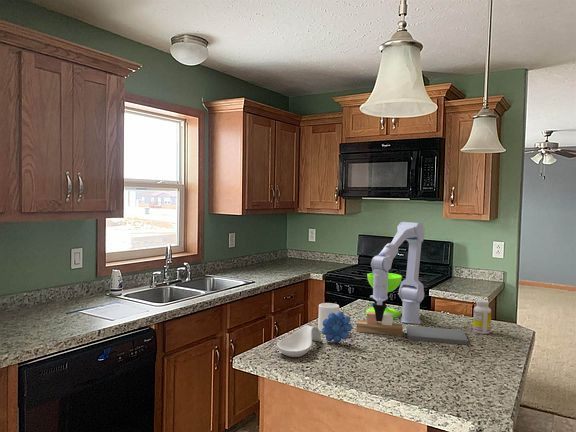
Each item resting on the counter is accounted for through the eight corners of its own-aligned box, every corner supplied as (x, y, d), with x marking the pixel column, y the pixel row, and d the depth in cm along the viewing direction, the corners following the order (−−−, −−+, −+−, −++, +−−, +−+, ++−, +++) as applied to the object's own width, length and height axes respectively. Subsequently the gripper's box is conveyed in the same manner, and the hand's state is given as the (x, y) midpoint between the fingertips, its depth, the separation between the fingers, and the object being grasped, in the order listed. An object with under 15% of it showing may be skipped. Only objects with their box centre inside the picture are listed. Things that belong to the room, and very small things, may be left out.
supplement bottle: (487, 330, 190) (488, 299, 190) (492, 334, 184) (494, 303, 183) (470, 329, 191) (471, 299, 190) (475, 334, 184) (476, 302, 184)
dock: (406, 329, 189) (406, 325, 189) (462, 333, 184) (462, 330, 184) (407, 339, 176) (407, 335, 175) (468, 344, 171) (468, 340, 171)
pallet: (357, 329, 189) (357, 319, 189) (401, 333, 185) (402, 323, 185) (356, 332, 184) (356, 323, 184) (402, 336, 180) (402, 326, 180)
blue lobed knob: (354, 341, 172) (355, 310, 171) (350, 347, 165) (351, 314, 165) (324, 337, 176) (325, 306, 175) (319, 342, 169) (320, 310, 169)
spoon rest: (302, 363, 149) (302, 341, 149) (270, 357, 154) (271, 336, 154) (329, 343, 170) (329, 324, 170) (300, 338, 175) (301, 319, 175)
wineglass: (394, 319, 204) (395, 279, 203) (360, 314, 212) (361, 276, 211) (405, 312, 217) (406, 274, 217) (373, 307, 226) (374, 271, 225)
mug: (323, 324, 194) (324, 300, 194) (342, 326, 192) (343, 302, 191) (315, 331, 183) (316, 306, 183) (335, 334, 180) (336, 308, 180)
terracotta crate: (367, 320, 188) (367, 311, 188) (377, 321, 187) (377, 312, 187) (366, 323, 184) (367, 313, 184) (377, 324, 183) (377, 314, 183)
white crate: (382, 322, 186) (382, 312, 186) (392, 322, 185) (392, 313, 185) (381, 324, 182) (382, 314, 182) (392, 325, 182) (392, 315, 181)
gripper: (371, 281, 192) (370, 313, 192) (369, 288, 178) (368, 322, 178) (388, 282, 190) (387, 315, 191) (388, 289, 176) (386, 324, 177)
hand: (379, 318), depth 185 cm, fingers open, 7 cm apart
